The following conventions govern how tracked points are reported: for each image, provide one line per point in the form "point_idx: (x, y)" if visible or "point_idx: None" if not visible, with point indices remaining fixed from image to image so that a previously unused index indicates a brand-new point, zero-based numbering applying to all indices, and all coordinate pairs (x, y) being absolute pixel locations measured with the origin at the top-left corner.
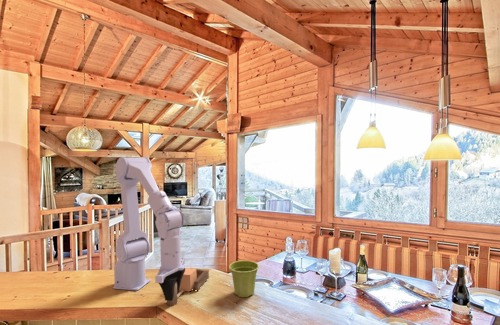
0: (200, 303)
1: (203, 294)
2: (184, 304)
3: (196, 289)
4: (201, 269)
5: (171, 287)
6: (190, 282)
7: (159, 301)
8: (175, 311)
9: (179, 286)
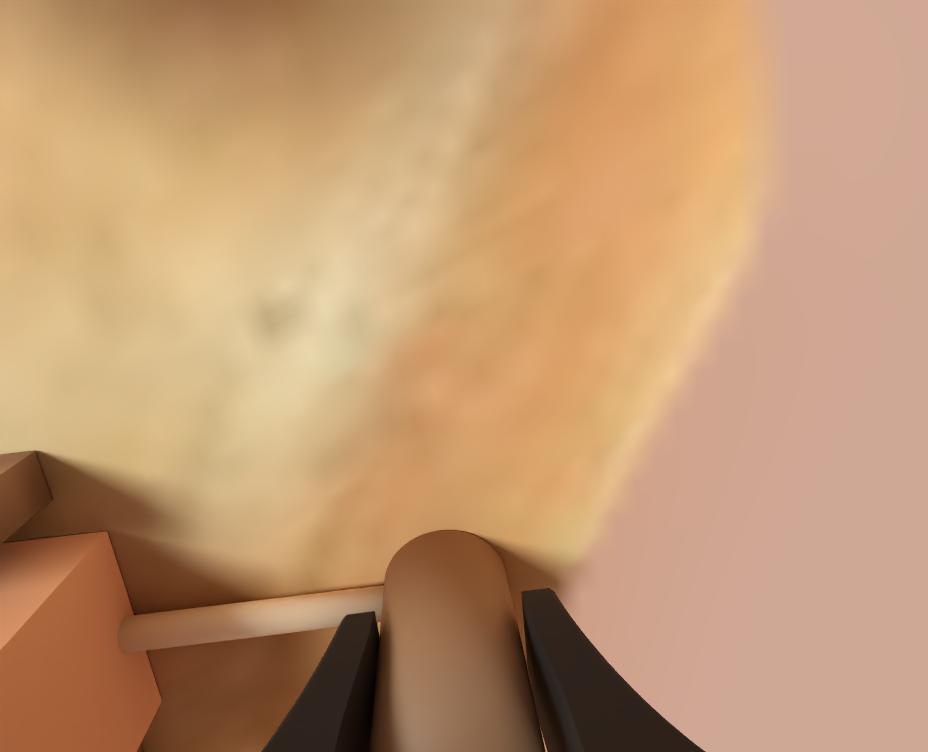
0: (344, 238)
1: (87, 324)
2: (432, 435)
3: (28, 483)
4: None
5: (685, 744)
6: (19, 625)
7: None
8: (606, 449)
9: (334, 682)
